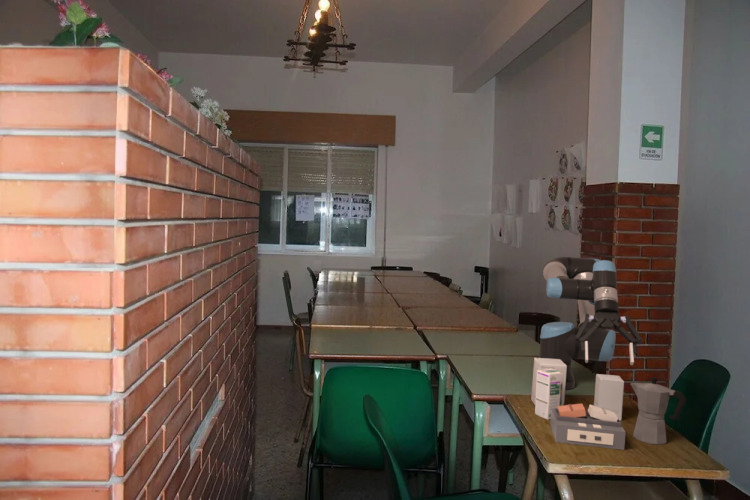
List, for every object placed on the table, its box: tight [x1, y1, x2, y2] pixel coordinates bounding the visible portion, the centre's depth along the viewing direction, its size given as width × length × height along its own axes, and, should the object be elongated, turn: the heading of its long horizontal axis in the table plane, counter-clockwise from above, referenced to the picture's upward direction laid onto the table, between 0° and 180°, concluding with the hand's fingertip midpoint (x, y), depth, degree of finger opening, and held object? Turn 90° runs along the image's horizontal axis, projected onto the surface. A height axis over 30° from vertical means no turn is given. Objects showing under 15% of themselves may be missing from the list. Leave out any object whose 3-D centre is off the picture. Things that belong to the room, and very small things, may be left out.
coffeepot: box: [629, 376, 687, 446], centre depth 165 cm, size 15×9×18 cm, turn 43°
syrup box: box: [534, 368, 563, 421], centre depth 182 cm, size 6×6×14 cm
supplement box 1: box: [530, 357, 567, 406], centre depth 193 cm, size 9×9×15 cm
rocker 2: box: [587, 404, 618, 422], centre depth 165 cm, size 5×7×2 cm
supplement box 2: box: [593, 373, 625, 422], centre depth 184 cm, size 7×7×13 cm
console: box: [549, 408, 626, 451], centre depth 166 cm, size 14×18×6 cm
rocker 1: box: [557, 403, 587, 417], centre depth 166 cm, size 5×7×2 cm
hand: (609, 362), depth 186 cm, fingers open, 13 cm apart
